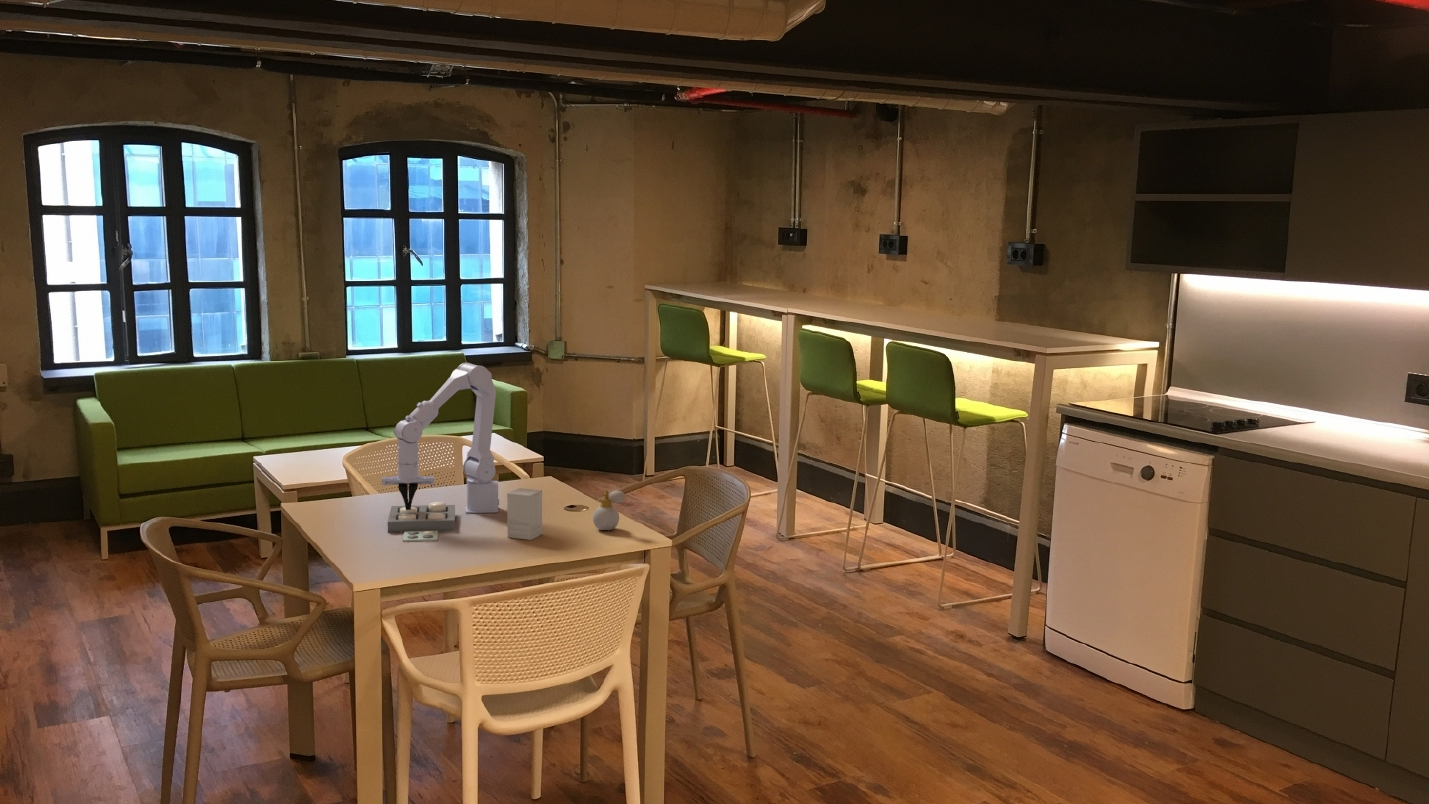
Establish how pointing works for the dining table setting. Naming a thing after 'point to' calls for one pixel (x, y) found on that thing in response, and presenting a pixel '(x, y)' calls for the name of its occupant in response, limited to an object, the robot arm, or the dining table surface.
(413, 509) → the button
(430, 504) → the button
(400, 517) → the button
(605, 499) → the perfume bottle
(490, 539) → the dining table surface
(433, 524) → the button board
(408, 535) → the tile
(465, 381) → the robot arm
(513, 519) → the supplement box
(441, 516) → the button
